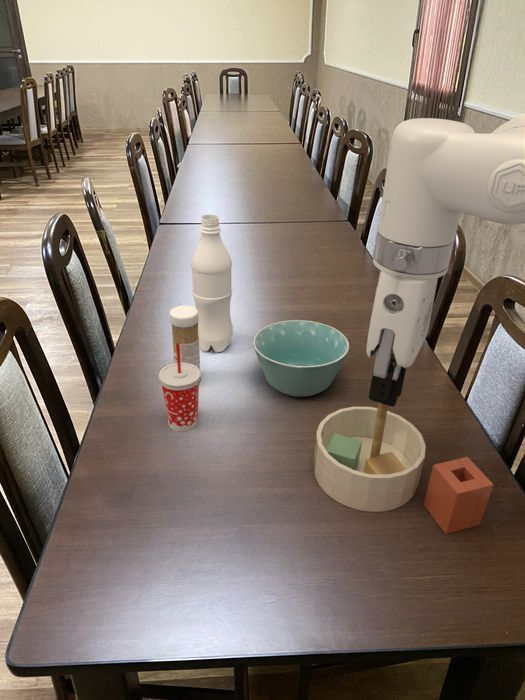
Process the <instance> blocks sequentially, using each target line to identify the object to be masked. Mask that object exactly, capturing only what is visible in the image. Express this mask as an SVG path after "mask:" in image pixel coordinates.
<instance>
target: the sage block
mask: <svg viewBox="0 0 525 700" xmlns="http://www.w3.org/2000/svg"><path fill="white" fill-rule="evenodd" d="M361 444H362V441H361V440H357V439H353V438H350V437H346V436H342V435H339V434H335V433H333V436H332V438H331V440H330V442H329V444H328V447H327V449H326V450H327V452H328V454H329V455H330V456H332V457H333V458H334V459H335V460H336V461H338V462H339V463H340V464H342V465H344V466H346V467H349V468H351V469H353V470H355V471H356V469H357V466H358V463H359V457H360V451H361Z"/></svg>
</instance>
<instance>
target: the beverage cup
mask: <svg viewBox="0 0 525 700" xmlns="http://www.w3.org/2000/svg"><path fill="white" fill-rule="evenodd" d="M176 352H177V363H174V362H173V363H169V364H167V365H166V366H164V367H162V368H161V369H160V371H159V372H158V382H159V383H160V385H161V390H162V396H163V403H164V405H165V406H164V408H165V414H166V419H167V425H168V427H169V428H170V429H171V430H173V431H175V432H188V431H191V430H193V429H194V428H196V427H197V425H198V424H199V394H200V393H199V390H200V382H201V381H202V375H201V369H200V370H199V368H198V367H197V366H195V365H193V364H189V363H181V362H180V348H179V343H177V344H176ZM200 377H201V379H200ZM199 381H200V382H199Z"/></svg>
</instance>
